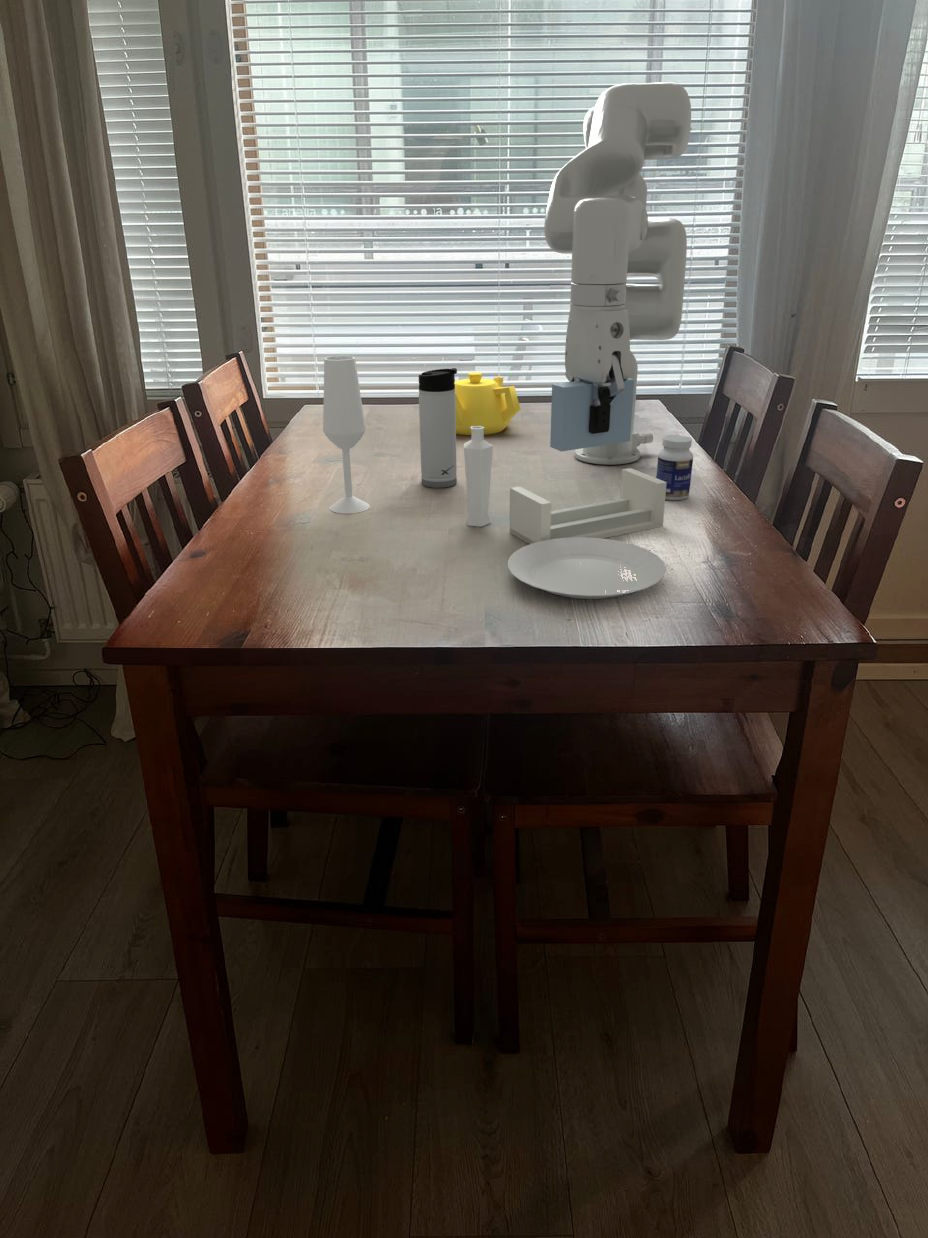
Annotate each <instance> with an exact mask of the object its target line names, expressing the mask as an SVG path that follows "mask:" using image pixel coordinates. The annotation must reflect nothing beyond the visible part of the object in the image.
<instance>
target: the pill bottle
mask: <svg viewBox="0 0 928 1238" xmlns="http://www.w3.org/2000/svg"><path fill="white" fill-rule="evenodd" d="M661 444H662V445H661V446H663V449H662V450H660V451H659V452H658V457H657V464H656V465H657V466H656V474H655V475H656V477H655V478H657V479H660V480H662V481H665V482H667V483H666V495H665V501H682V500H686V499H688V498H689V496H690V490H691V481H692V470H693V464H694V463H693V462H694V455H693V453H692V451H691V450H690V448H691V447H692V444H693V441H692V438H691V437H689V436H684V435H679V434H678V435H677V434H676V435H675V434H672V435H671V434H670V435H665V436H663V437H662V443H661Z"/></svg>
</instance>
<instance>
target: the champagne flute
mask: <svg viewBox="0 0 928 1238" xmlns="http://www.w3.org/2000/svg"><path fill="white" fill-rule="evenodd" d="M323 360H324V361H323V366H324V367H323V409H322V411H323V412H322V413H323V414H322V415H323V416H322V419H323V420H322V421H323V422H322V429H323V433H324V435H325V437H326V438H327V439H328V441H330V442H331V443H332V444H333V445H334V446H335V447H337V448H339V450H341V452H342V453H341V454H342V466H343V468H342V469H343V481H344V495H345V496H343V497H342V498H340V499H339V500H337V501H335V502H334V503H333V504H331V505H330V506H329V511H331V512H333V513H338V514H356V513H361V512H364V511H368V509H370V508H371V506H370V504H369V503H368V502H365V501H364V500H361V499H359V498H358V497H356V496H354V495H353V485H352V484H353V483H352V482H353V481H352V468H351V466H352V465H351V454H350V453H351V451H350V450H351V449H352V448H354V447H355V446H356V445H357V443H358V442H359V441H360V440H361V439H362V438H363V436H364V434H365V432H366V421H365V416H364V408H363V402H362V396H361V389H360V383H359V382H360V381H359V376H358V370H357V369H358V368H357V363H356V357H355V356H352V355H332V356H331V355H329V356H326V357H324V359H323Z"/></svg>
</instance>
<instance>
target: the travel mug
mask: <svg viewBox="0 0 928 1238" xmlns="http://www.w3.org/2000/svg"><path fill="white" fill-rule="evenodd" d="M457 373H458V369H457V368H456V367H451V368H438V369H433V370H432V369H431V370H427V371H426V370H425V371H424V372H421V374H419V375H418V413H419V415H418V416H419V443H420V445H419V446H420V448H419V449H420V468H421V469H420V474H421V476H420V477H421V479H420V480H421V484H422V485H423V486H424V487H427V488H432V489H442V488H443V489H445V488H450V487H452V486H454V485H456V484H457V482H458V481H457V476H458V475H457V434H456V404H455V384H454V383H455V381H456V379H455V375H457Z"/></svg>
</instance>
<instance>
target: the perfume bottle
mask: <svg viewBox="0 0 928 1238" xmlns="http://www.w3.org/2000/svg"><path fill="white" fill-rule="evenodd" d="M484 428H485V427H482V426H471V435H470V436H471V439H469V440H468V441H466V442H464V443H463V456H464V467H465V468H464V469H465V470H464V471H465V483H466V484H465V485H466V497H467V499H466V500H467V509H468V511H467V512H468V513H467V518H466V526H471V527H480V528H481V527H485V526H487V525H488V524H490V523H491V520H490V516H489V505H490V504H489V503H490V492H491V491H490V490H491V489H490V488H491V476H492V466H493V465H492V463H493V462H492V461H493V452H494V450H493V449H494V445H493V444H491V443H489V442H488V441H486V440H484V439H485V438H484V437H485V435H484Z"/></svg>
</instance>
